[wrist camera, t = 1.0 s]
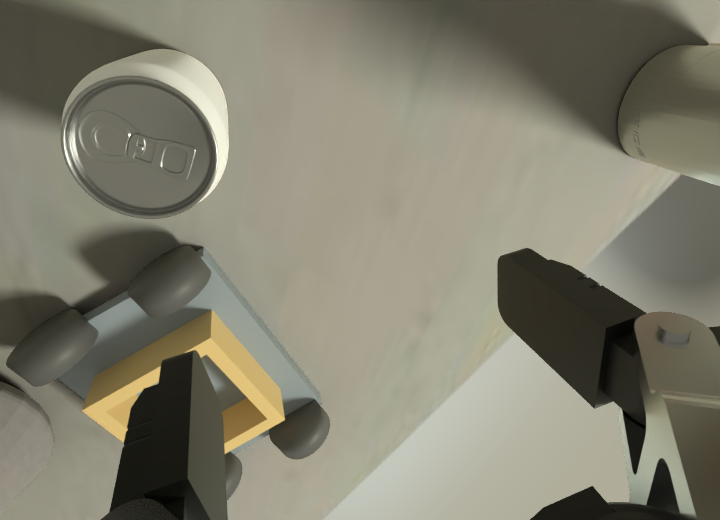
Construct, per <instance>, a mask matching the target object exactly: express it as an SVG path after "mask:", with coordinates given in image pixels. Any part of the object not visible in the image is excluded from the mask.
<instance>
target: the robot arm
mask: <svg viewBox="0 0 720 520" xmlns="http://www.w3.org/2000/svg"><path fill="white" fill-rule="evenodd" d="M618 135H619V139H620V143H621V145H622V147H623V148H624V150H625V151H626V152H627V153H628V154H629V155H630V156H632V157H634V158H636V159H638V160H641V161H644V162H647V163H650V164H653V165H656V166H660V167H663V168H666V169H669V170H672V171H675V172H677V173H680V174H683V175H687V176H690V177H693V178H696V179H699V180H702V181H705V182H708V183H711V184H715V185H718V186H720V44H717V43H711V44H709V45H707V46H701V45H678V46H675V47H671V48H668V49H666V50H665V51H663V52H661V53H659V54H657V55H656V56H655V57H654V58H652V59H651V60H650V61H649V62H647V63H646V65H645V66H644V67H643V68H642V69H641V70H640V71H639V72H638V73H637V75H636V76H635V78H634V79H633V81H632V82H631V84H630V85H629V87H628V89H627V91H626V94H625V96H624V98H623V101H622V104H621V107H620V110H619V117H618ZM498 308H499V312H500V314H501V317H502V319H503V320H504V322H505V323H506V324H507V325H508V327H510V328H511V329H512V330H513V331H514V332H515V333H516V334H517V335H518V336H519V337H520V338H521V339H522V340H523V341H524V342H525V343H526V344H527V345H529V347H530V348H532V349H533V350H534V351H535V352H536V353H537V354H538V355H539V356H540V357H541V358H542V359H543V360H544V361H545V362H546V363H547V364H548V365H549V366H550V367H551V368H553V369H554V370H555V371H556V372H557V373H558V374H559V375H560V376H561V377H562V378H563V379H564V380H565V381H566V382H567V383H568V384H569V385H570V386H571V387H573V389H575V390H576V391H577V392H578V393H579V394H580V395H581V396H582V397H583V398H584V399H585V400H586V401H587V402H588V403H589V404H590V405H591V406H592V407H593V408H598V407H600V406H602V405H605V404H608V403H610V402H612V401H614V402H615V403H616V404H617V405H618V406H619V413H618V420H619V425H620V433H621V439H622V445H623V452H624V458H625V464H626V470H627V477H628V482H629V495H630V496H629V503H626V502H609V503H607V502H606V501H605V500H604V499H603V498H602V497H601V495H600V494H599V493H598V492H597V491H596V490H595V489H594V487H593V486H591V487H589V488H587V489H585V490H582V491H580V492H578V493H575V494H573V495H571V496H569V497H566V498H564V499H562V500H560V501H557V502H555V503H553V504H550V505H548V506H546V507H544V508H543V509H542V510H540V511H539V512H538V513H537V514H536V515H535V516H534V517H533V518H531V519H530V520H720V326H718V327H707V326H705V325H704V324H703V323H701V322H699V321H698V320H695V319H693V318H690V317H688V316H685V315H682V314H677V313H672V312H652V313H648V314H647V313H645V312H644V311H642V310H641V309H639V308H637V307H636V306H634V305H633V304H631V303H629V302H628V301H626V300H624V299H623V298H621V297H620V296H618V295H617V294H615V293H613V292H612V291H610V290H609V289H607V288H605V287H604V286H600V285H599V283H597V282H596V281H594V280H593V279H591V278H587V277H586V275H584V274H583V273H581V272H580V271H578V270H577V269H575V268H573V267H572V266H570V265H566V264H563V263H560V262H557V261H554V260H547V259H545V258H544V257H542V256H541V255H539V254H538V253H536V252H535V251H533V250H531V249H529V248H525V249H521V250H518V251H515V252H512V253H509V254H505V255H502V256H500V257H499V259H498ZM127 429H128V431H126V435H125V439H124V447H123V449H122V454H121V459H120V464H119V469H118V474H117V478H116V483H115V488H114V493H113V498H112V503H111V508H110V512H109V513H108V514H107V515H106V516H104V517H103V518H102V519H101V520H228V518H227V495H226V472H225V448H224V425H223V415H222V410H221V406H220V402H219V399H218V397H217V394H216V392H215V390H214V387H213V385H212V383H211V380H210V378H209V376H208V373H207V371H206V369H205V367H204V364H203V362H202V360H201V357H200V355H199V353H198V352H197V351H196V350H193V351H190V352H186V353H183V354H180V355H177V356H173V357H170V358H167V359H164V360H162V363H161V369H160V376H159V383H158V384H157V385H153V386H150V387H147V388H144V389H143V391H142V392H141V394H140V395H139V397H138V398H137V400H136V401H135V403H134V404H133V406H132V407H131V410H130V415H129V420H128V425H127Z"/></svg>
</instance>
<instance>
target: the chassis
mask: <svg viewBox="0 0 720 520" xmlns="http://www.w3.org/2000/svg"><path fill="white" fill-rule="evenodd" d="M193 350H196V351H197V352H198V353H199V355H200V357H201V360H202V362H203V364H204V367H205V369H206V371H207V373H208V376H209V378H210V380H211V383H212V385H213V387H214V390H215V392H216V394H217V397H218V399H219V402H220V406H221V410H222V415H223V425H224V448H225V472H226V495H227V500H228V499H229V498H230V497H231V495H232V494H233V493H234V491H235V490H236V488H237V486H238V484H239V482H240V479H241V475H242V464H241V461H240V460H239V458H237V457H236V456H235V455H234V454H235V453H237V452H239V451H241V450H242V449H244V448H246V447H248V446H249V445H251V444H253V443H255V442H256V441H258V440H260V439H262V438H264V437H265V436H267V435H270V439H271V441H272V442H273V443H274V444H275V445H276V446H277V447H278V448H279V449H280V450H281V451H282V452H283V454H284V455H285V456H287V457H288V458H291V459H302V458H305V457H307V456H309V455H311V454H313V453H314V452H315V451H316V450H317V449H318V448H319V447H320V446H321V445H322V444H323V442H324V441H325V439H326V437H327V435H328V432H329V428H330V421H329V417H328V415H327V413H326V412H325V411H324V410H323V408H322V407H321V406H320V405H322V403H321V399H320V395H319V392H318V391H317V390H316V388H315V387H314V386H313V385H312V383H311V382H310V381H309V379H308V378H307V377H306V376H305V374H304V373H303V372H302V371H301V369H300V368H299V367H298V366H297V364H296V363H295V362H294V360H293V359H292V358H291V357H290V355H289V354H288V353H287V352H286V350H285V349H284V348H283V347H282V345H281V344H280V343H279V341H278V340H277V339H276V338H275V336H274V335H273V334H272V333H271V331H270V330H269V329H268V328H267V326H266V325H265V324H264V323H263V321H262V320H261V319H260V317H259V316H258V315H257V314H256V312H255V311H254V310H253V309H252V307H251V306H250V305H249V304H248V302H247V301H246V300H245V298H244V297H243V296H242V295H241V293H240V292H239V291H238V290H237V288H236V287H235V286H234V285H233V283H232V282H231V281H230V279H229V278H228V277H227V276H226V274H225V273H224V272H223V271H222V269H221V268H220V267H219V266H218V264H217V263H216V262H215V261H214V259H213V258H212V257H211V255H210V254H209V253H208V252H207V250H206V249H205V248H204V247H203V248H201V249H199V250H198V251H195V250H194V249H193V248H192V247H191V246H182V247H178V248H176V249H173V250H171V251H169V252H167V253H165V254H163V255H162V256H160V257H159V258H157V259H156V260H154V261H153V262H151V263H150V264H149V265H148V266H146V267H145V268H144V269H143V270H142V271H141V272H140V273H139V274H138V275H137V276H136V277H135V278H134V279H133V281H132V282H131V284H130V285H129V287H128V290H127V291H125V292H123V293H121V294H120V295H118V296H116V297H114V298H113V299H111V300H109V301H107V302H105V303H104V304H102V305H100V306H98V307H97V308H95V309H93V310H91V311H89V312H88V313H86V314H84V315H81V314H80V313H79V312H78V311H77V310H75V309H69V310H66V311H63V312H61V313H59V314H57V315H55V316H53V317H52V318H50V319H49V320H47V321H45V322H44V323H43V324H41V325H40V326H39V327H37V328H36V329H35V330H33V331H32V332H31V333H30V334H29V335H28V336H26V337H25V338H24V339H23V340H22V341H21V342H20V343H19V344H18V345H17V347H16V348H15V349H14V350H13V351H12V353H11V354H10V356H9V357H8V359H7V362H6V365H7V367H9V368H10V369H11V370H13V371H14V372H15V373H17V374H18V375H19V376H21V377H22V378H23V379H25V380H26V381H27V382H29V383H30V384H31V385H33V386H42V385H45V384H47V383H50V382H52V381H53V380H55V379H59V380H60V381H61V382H62V383H64V384H65V385H66V386H68V387H69V388H70V389H71V390H73V391H74V392H75V393H77V394H78V395H79V396H80V397H82V398H83V399H84V400H85V403H84V406H83V409H82V411H83V412H84V413H85V414H87V415H88V416H89V417H91V418H92V419H93V420H94V421H96V422H97V423H98V424H100V425H101V426H102V427H104V428H105V429H106V430H108V431H109V432H110V433H112V434H113V435H114V436H115V437H117V438H118V439H119V440H121V441H122V442H123V443H124V439H125V435H126V431H128V429H127V425H128V420H129V415H130V410H131V407H132V406H133V404H134V403H135V401H136V400H137V398H138V397H139V395H140V394H141V392H142V391H143V389H144V388H147V387H150V386H153V385H157V384H158V383H159V376H160V369H161V363H162V360H164V359H167V358H170V357H173V356H177V355H180V354H183V353H186V352H190V351H193Z"/></svg>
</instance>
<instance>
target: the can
mask: <svg viewBox="0 0 720 520" xmlns="http://www.w3.org/2000/svg"><path fill="white" fill-rule="evenodd" d="M61 146H62V151H63V155H64V159H65V161H66V164H67V166H68V168H69V170H70V172H71V174H72V175H73V177H74V179H75V180H76V181H77V183H78V184H79V185H80V186H81V187H82V189H83V190H84V191H85V192H86V193H88V194H89V195H90V196H91V197H92V198H93V199H95V200H96V201H97V202H99V203H100V204H102V205H104V206H105V207H107V208H109V209H111V210H113V211H116V212H118V213H121V214H124V215H127V216H131V217H136V218H144V219H158V218H166V217H170V216H174V215H177V214H180V213H182V212H184V211H186V210H188V209H190V208H191V207H193V206H194V205H195V204H197V203H199V202H200V201H202V200H203V199H204V198H205V197H207V196H208V195H209V194H210V193H211V192H212V191H213V189H214V188H215V187H216V185H217V184H218V182H219V181H220V179H221V177H222V175H223V172H224V170H225V167H226V163H227V158H228V148H229V137H228V114H227V104H226V99H225V96H224V93H223V90H222V88H221V86H220V84H219V82H218V80H217V79H216V77H215V76H214V75H213V74H212V72H211V71H210V70H209V69H208V68H207V67H206V66H205V65H203V64H202V63H201V62H200V61H198V60H197V59H195V58H193V57H192V56H190V55H187V54H185V53H182V52H179V51H176V50H170V49H154V50H148V51H144V52H141V53H138V54H134V55H131V56H128V57H125V58H122V59H120V60H117V61H114V62H111V63H109V64H106V65H104V66H102V67H100V68H98V69H96V70H94V71H92V72H91V73H89V74H88V75H87V76H86V77H84V78H83V79H82V80H81V81H80V82H79V83H78V84H77V86H76V87H75V88H74V89H73V91H72V92H71V94H70V96H69V97H68V100H67V102H66V104H65V107H64V111H63V115H62V128H61Z"/></svg>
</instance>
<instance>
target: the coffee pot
mask: <svg viewBox="0 0 720 520" xmlns="http://www.w3.org/2000/svg"><path fill="white" fill-rule="evenodd" d="M54 440H55V438H54V434H53V430H52V427H51V423H50V420H49V417H48V415H47V414H46V413H45V411H44V410H43V409H42V407H41V406H40V405H39V404H38V403H37V402H36V401H34V400H33V399H32V398H30V397H29V396H28V395H26V394H25V393H24V392H22V391H21V390H19V389H17V388H15V387H13V386H11V385H9V384H7V383H4V382H1V381H0V513H1V512H2V511H3V510H4V509H5V508H6V507H7V506H8V505H9V504H10V503H11V502H12V501H13V500H14V499H16V498H17V497H18V496H19V495H20V494H21V493H22V492H23V491H24V490H25V489H26V488H27V487H28V486H29V485H30V484H31V483H32V482H33V481H34V480H35V479H36V478H37V477H38V476H39V475H40V474H41V473H42V472H43V471H44V469H45V467H46V466H47V464H48V462H49V461H50V459H51V457H52V455H53V448H54Z"/></svg>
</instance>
